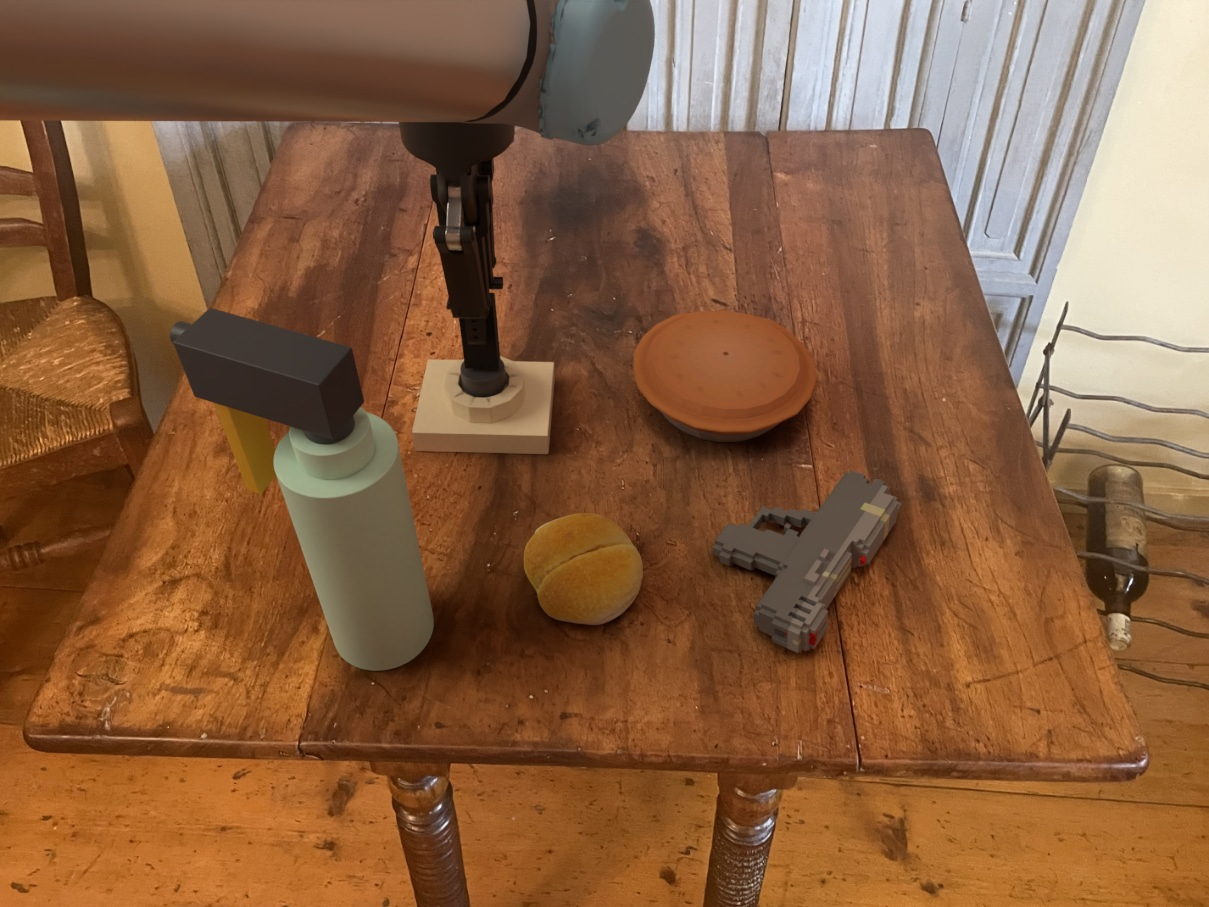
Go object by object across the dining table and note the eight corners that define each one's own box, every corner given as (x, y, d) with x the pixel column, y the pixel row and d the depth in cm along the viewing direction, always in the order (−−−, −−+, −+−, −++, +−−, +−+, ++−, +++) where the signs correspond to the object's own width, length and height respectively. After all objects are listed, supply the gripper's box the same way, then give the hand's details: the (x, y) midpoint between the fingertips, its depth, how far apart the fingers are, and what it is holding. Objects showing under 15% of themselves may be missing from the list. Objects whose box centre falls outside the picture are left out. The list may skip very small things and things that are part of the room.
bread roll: (557, 646, 68) (555, 614, 66) (512, 552, 74) (509, 518, 71) (663, 606, 71) (666, 573, 68) (612, 518, 76) (613, 484, 73)
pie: (826, 458, 81) (838, 415, 77) (638, 465, 80) (641, 421, 77) (791, 337, 92) (799, 294, 88) (625, 342, 91) (626, 299, 87)
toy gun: (680, 575, 70) (809, 631, 65) (785, 444, 79) (905, 484, 74) (683, 608, 72) (808, 665, 67) (784, 477, 81) (901, 518, 76)
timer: (415, 451, 81) (408, 416, 78) (430, 377, 87) (425, 343, 84) (548, 454, 81) (547, 419, 78) (554, 380, 87) (553, 346, 84)
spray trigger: (246, 490, 61) (211, 400, 55) (269, 464, 62) (237, 373, 57) (260, 495, 60) (226, 404, 55) (282, 468, 62) (252, 377, 56)
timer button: (459, 397, 80) (457, 381, 79) (465, 368, 83) (463, 352, 81) (503, 398, 80) (502, 382, 79) (507, 369, 83) (506, 353, 81)
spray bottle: (249, 628, 69) (129, 358, 51) (305, 554, 74) (212, 282, 56) (403, 684, 66) (332, 420, 48) (451, 604, 71) (403, 334, 53)
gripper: (502, 137, 58) (522, 420, 75) (520, 40, 67) (534, 313, 84) (375, 134, 58) (424, 418, 76) (410, 38, 67) (447, 311, 84)
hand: (482, 362), depth 80 cm, fingers closed
